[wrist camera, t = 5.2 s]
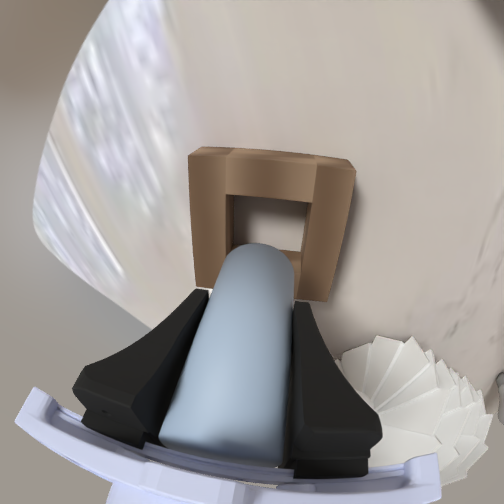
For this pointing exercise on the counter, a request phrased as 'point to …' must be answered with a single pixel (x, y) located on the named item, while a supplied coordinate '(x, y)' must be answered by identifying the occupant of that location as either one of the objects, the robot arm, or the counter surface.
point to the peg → (238, 365)
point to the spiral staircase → (418, 406)
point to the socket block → (270, 186)
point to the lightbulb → (501, 397)
